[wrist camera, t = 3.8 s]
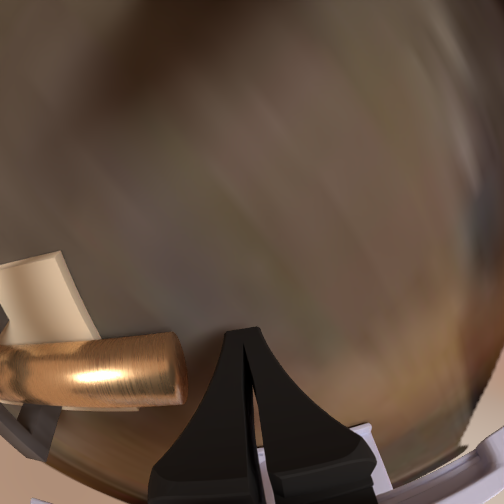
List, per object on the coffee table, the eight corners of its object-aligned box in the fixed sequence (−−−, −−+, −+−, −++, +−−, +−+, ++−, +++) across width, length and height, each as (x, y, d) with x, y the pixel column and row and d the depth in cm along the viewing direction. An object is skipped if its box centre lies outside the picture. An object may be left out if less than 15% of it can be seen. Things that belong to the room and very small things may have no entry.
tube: (170, 315, 12) (161, 371, 9) (189, 365, 14) (187, 419, 11) (-35, 334, 12) (-57, 368, 9) (-10, 371, 13) (-27, 405, 10)
